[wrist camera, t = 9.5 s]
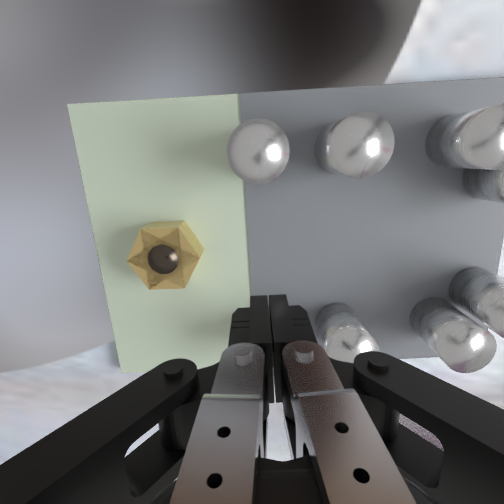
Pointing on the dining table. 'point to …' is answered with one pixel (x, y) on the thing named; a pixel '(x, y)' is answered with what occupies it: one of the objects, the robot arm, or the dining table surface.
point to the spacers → (369, 163)
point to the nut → (165, 254)
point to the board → (280, 214)
